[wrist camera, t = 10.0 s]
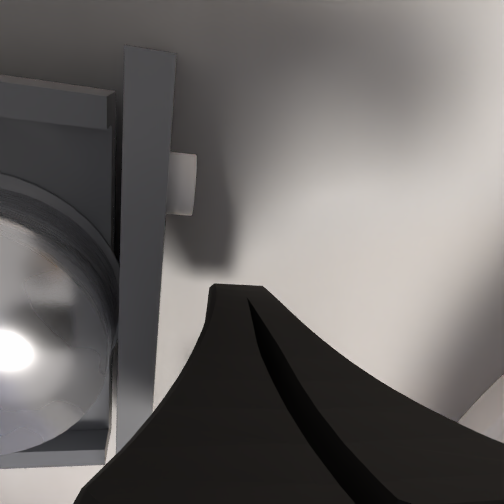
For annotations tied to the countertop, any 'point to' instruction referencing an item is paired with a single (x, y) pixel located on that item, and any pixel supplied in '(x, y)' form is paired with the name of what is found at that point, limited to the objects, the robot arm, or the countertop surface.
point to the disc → (50, 321)
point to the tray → (104, 218)
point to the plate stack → (488, 413)
